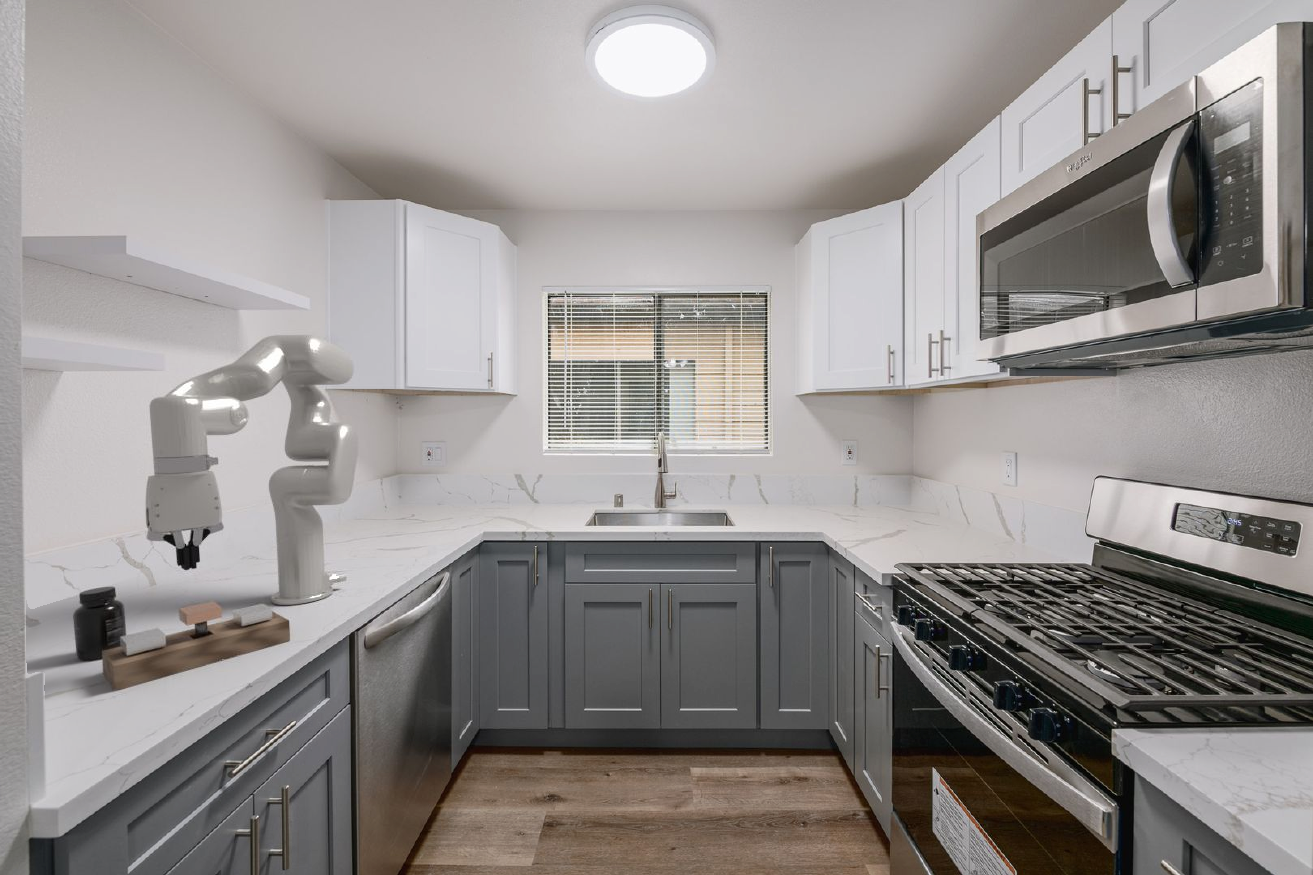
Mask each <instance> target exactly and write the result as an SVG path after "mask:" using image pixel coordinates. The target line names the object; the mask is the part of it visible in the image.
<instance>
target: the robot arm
mask: <svg viewBox="0 0 1313 875" xmlns="http://www.w3.org/2000/svg"><path fill="white" fill-rule="evenodd" d="M354 372H355V370H354V363H353V360H352V358H351V356H350V355H349V354H348V353H347V352H346V350H344V349H342V348H340V347H338V346H337V345H335V344H333V343H331V342H330V341H328V340H325V339H323V338H321V337H319V336H316V335H312V334H311V335H310V334H276V335H270V336H269V335H268V336H266V337H264V338H262V339H260V341H258V342H257V343H255V344H254V345H253V346H252V347H251V348H250V349H249V350H247V351H246V352H245V353H243V355H241V356H239V357H238V358H237V359H236V360H235V361H234V362H232V363H231V364H227V365H224V366H220V367H217V368H215V369H213V370H211V371H210V370H209V371H208V372H207V371H206V372H205V373H202V374H199V375H197V376H194V377H191V378H189V379H186V380H184V381H183V382H182V383H180V384H178V385H177V386H176V387H175V388H173V389H172V390H170V391H169V392H168V393H167V394H166V395H164V396H158V397H154V398H153V399H152V400H151V401H150V402H149V403H150V404H149V418H150V419H149V421H150V433H151V445H152V446H151V448H152V458H153V459H152V460H153V461H152V462H153V471H154V472H153V474H154V475H150V476H148V477H147V481H146V490H145V525H146V528H147V533H146V540H148V541H150V542H167V543H168V544H170V545H172V546H173V547H175V554H176V556H175V557H176V564H177V566H178V567H180V568H181V569H183V570H184V571H189V570H190V569H192V570H194V569H197V568H198V567H197V565H198V564H197V563H200V562H201V559H200V556H201V555H200V554H201V553H200V546H201V545H202V543H203V541H204V540H206V538H208V537H209V535H212V534H215V533H218V532H220V531H222V530H224V528H225V527H224V524H223V510H222V509H223V508H222V503H221V496H220V492H219V487H218V483H217V479H216V477H215V473H214V471H212V470H211V467H212V466H215V465H216V466H217V465H219V459H218V458H219V457H213V456H210V454H208V453H209V451H208V438H207V437H208V436H229V435H233V434H236V433H239V432H240V431H242V430H243V429H244V428H245V427H246V425H248V424H247V423H248V421H249V417H250V415H249V411H248V408H247V406H246V405H245V403H244V402H246V401H250V400H254V399H257V398H260V397H264V396H267V394H269V393H271V391H272V390H273V389H274V388H275V387H276V386H277V385H278V384H279V383H280V382H282V384H283V386H284V388H285V390H286V392H287V393H288V397H289V400H290V414H289V418H288V424H287V430H286V435H285V440H284V452H285V454H286V456H287V458H288V459H290V460H292V461H295V462H302V463H303V462H305V463H307V462H317V463H318V462H328V464H327V465H315V464H312V465H309V464H308V465H289V466H285V467H281V468H279V469H277V470H275V471H274V472H273V473H272V474H271V476H270V478H269V480H268V491H269V495H270V499H271V503H272V507H273V511H274V520H275V534H276V537H275V538H276V555H277V556H276V558H277V576H278V592H275V593H274V594H272V595H271V597H270V598H271V601H270V602H271V603H272V604H274V605H280V606H288V605H291V606H293V605H300V604H306V603H311V602H315V601H319V600H321V599H325V598H327V597H330V596H331V595H332V594H333V592H334V589H333V587H332V585H334V584H335V583H341V582H346V581H347V574H346V573H345V572H343V573H339V574H336V573H333V574H328V573H326V572H325V569H326V568H325V554H324V553H325V549H324V547H325V546H324V525H323V524H324V523H323V521H322V517H321V516H320V513H319V512H318V511H317V509H316V508H315V507H314V506H335V505H342V504H344V503H346V502H347V501H348V500H349V498H350V497H351V495H352V492H353V488H354V480H355V475H356V467H357V460H358V455H359V454H358V453H359V438H358V434H357V431H356V430H355V429H354V427H353V426H352V425H350V424H348V423H345V422H330V419H331V417H330V415H331V410H332V409H331V404H330V402H329V399H327V397H326V396H325V394H324V393H323V392H322V391H321V390H320V389H319V388H318V387H317V386H322V385H323V386H324V385H326V386H332V385H336V386H337V385H338V386H339V385H345V384H347V383H348V382H350V380H351V379H352V377H354V376H353V375H354ZM189 530H190V532H189V541H188V542H187V543H185V540H184V539H185V538H184V536H183V532H184V531H189Z"/></svg>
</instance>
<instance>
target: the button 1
mask: <svg viewBox="0 0 1313 875" xmlns="http://www.w3.org/2000/svg"><path fill="white" fill-rule="evenodd" d="M120 645H121V649H122V650H123V652H124V653H125V654H126V655H127V656H128V655H132V654H136V653H137V654H138V653H142V652H146V651H150V650H151V649H155V648H159V647H163V646H166V633H164V631H162V630H161V629H160V628H159V627H156V628H152V629H146V630H143V631H140V632H136V633H130V634H126V636H121V637H120Z"/></svg>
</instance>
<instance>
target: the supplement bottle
mask: <svg viewBox="0 0 1313 875" xmlns="http://www.w3.org/2000/svg"><path fill="white" fill-rule="evenodd" d="M116 593H117V592H116V587H115V586H102V587H96V588H91V589H86V590H83V591H81V592H79V593H78V596H79V602H78V603H79V604H80V605H81V606H79V607H78V608H77V609H75V611H74V612H73V614H72V615H73V616H72V617H73V618H72V619H73V631H74V633H73V634H74V640H75V641H74V645H75V654H76V658H77V660H79V661H83V662H86V661H87V662H89V661H96V660H101V659H102V651H104V650H108V649H112V648H117V647H121V645H120V637H121V636H126V635H127V626H126V615H125V614H126V612H125V605H124V603H123V602H122V601H121V600H117V599H116V598H117V594H116Z"/></svg>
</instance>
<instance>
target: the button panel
mask: <svg viewBox="0 0 1313 875" xmlns="http://www.w3.org/2000/svg"><path fill="white" fill-rule="evenodd" d="M272 618H273V619H269V620H265V621H261V622H259V623H256V624H252V625H248V626H247V625H246V626H240V625H239V624H237V623H236V622H234V621H233V618H232V619H228V620H225V621H219V622H216V623H212V624H207V628H208V636H205V637H201V638H197V639H195V628H191V629H186V630H183V631H179V632H175V633H171V634H165V636H166V646H163V647H159V648H155V649H151V650H150V651H146V652H142V653H138V654H137V653H136V654H132V655H128V656H127V655H126V654H125V653H124V652H123V650H122V649H121V647H117V648H112V649H108V650H104V651H102V674H103V676H104V678H106V680H107V682H108V683H109V684H110V686H111V687H112V689H113V690H114V691H115V692H116V691H120V690H124V689H128V688H130V687H133V686H138V685H141V684H144V683H148V682H151V681H155V680H157V679H162V678H165V677H169V676H172V675H175V674H178V673H183V672H186V671H190V670H193V668H194V669H196V668H201V667H203V666H207V665H206V664H208V665H210V664H209V663H211V664H213V663H214V662H215V663H217V661H218V662H220V661H219V660H221V661H223V660H222V659H225V660H228V659H232V658H235V657H238V656H237V655H239V656H241V655H245V654H250V653H252V652H256V651H259V650H263V649H267V648H270V647H273V646H276V645H280V644H284V643H288V642H291V631H290V630H291V628H290V627H291V626H290V620H289V619H287V618H285V617H284V616H282V615H280V614H278V613H276V612H275V611H273V610H272ZM231 657H232V658H231Z"/></svg>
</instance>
